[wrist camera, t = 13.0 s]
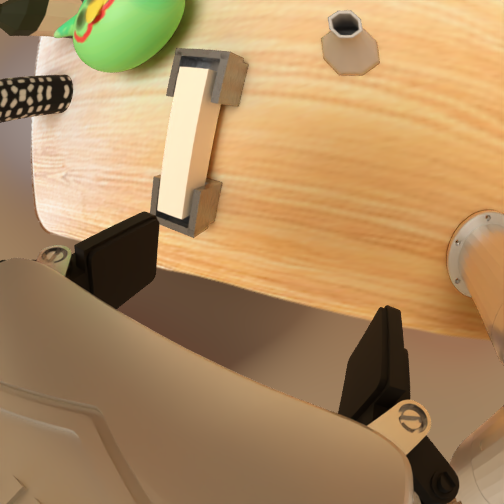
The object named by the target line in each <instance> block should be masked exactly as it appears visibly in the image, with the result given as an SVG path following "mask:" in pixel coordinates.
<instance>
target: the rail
mask: <svg viewBox="0 0 504 504" xmlns="http://www.w3.org/2000/svg"><path fill="white" fill-rule="evenodd" d="M216 75H217V71H213V70H210V69H203V68H192V67H180V68H179V73H178V77H177V82H176V87H175V92H174V97H173V102H172V108H171V113H170V119H169V125H168V131H167V137H166V143H165V150H164V157H163V165H162V172H161V180H160V189H159V198H158V208H157V210H158V211H160V212H163V213H166V214H168V215H171V216H174V217H176V218H179V219H184V218H186V217H187V216H189V215H190V213H191V206H192V200H193V193H194V189H196V188H199V187H201V186H204V185H205V182H206V177H207V171H208V166H209V160H210V155H211V150H212V145H213V140H214V135H215V130H216V125H217V120H218V115H219V111H220V106H221V104H217V103H211V97H212V93H213V88H214V84H215V80H216Z"/></svg>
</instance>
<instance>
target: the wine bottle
mask: <svg viewBox="0 0 504 504" xmlns="http://www.w3.org/2000/svg"><path fill="white" fill-rule="evenodd" d="M83 1H84V0H8V1H6V2H5V3H3V4H0V28H1V29H3V30H4V31H5V32H6V33H7V34H9V35H10V36H51V37H54V33H55V31H56V30H57V29H58V28H59V27H60V26H61V25H63V24H64V23H65V22H67V21H68V20H69V19H71V18H72V17H73V16H75V15H76V14H77V13H78V11H79V9H80V7H81V5H82V3H83ZM65 38H73V36H67V37H65Z"/></svg>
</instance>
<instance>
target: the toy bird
mask: <svg viewBox="0 0 504 504" xmlns="http://www.w3.org/2000/svg"><path fill="white" fill-rule="evenodd" d="M184 8H185V0H84V1H83V3H82V5H81V7H80V9H79V11H78V13H77V14H76V15H75V16H73V17H72V18H71V19H69V20H68V21H67V22H65V23H64V24H63V25H61V26H60V27H59V28H58V29H57V30H56V31H55V33H54V37H55V38H62V37H67V36H73V43H74V47H75V50H76V52H77V54H78V56H79V57H80V59H81V60H82V61H83V62H84V63H85V64H87V65H88V66H90V67H91V68H93V69H96V70H98V71H102V72H110V73H113V72H122V71H126V70H129V69H132V68H134V67H137V66H139V65H141V64H142V63H144V62H146V61H147V60H148V59H150V58H151V57H152V56H154V55H155V54H156V53H157V52H158V51H159V50H160V49H161V48H162V47H163V46H164V45H165V44H166V43H167V42H168V41H169V39H170V38H171V37H172V35H173V34H174V32H175V30H176V29H177V27H178V25H179V23H180V21H181V18H182V15H183V12H184Z"/></svg>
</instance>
